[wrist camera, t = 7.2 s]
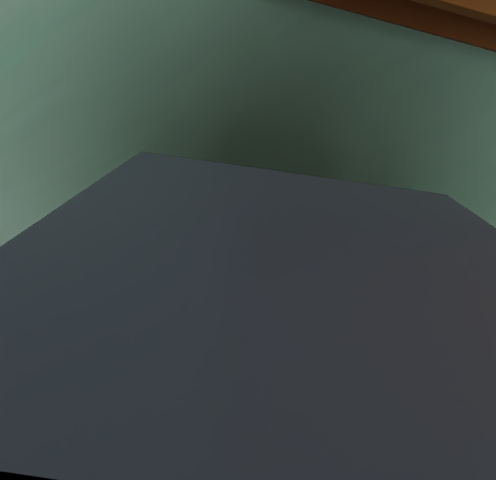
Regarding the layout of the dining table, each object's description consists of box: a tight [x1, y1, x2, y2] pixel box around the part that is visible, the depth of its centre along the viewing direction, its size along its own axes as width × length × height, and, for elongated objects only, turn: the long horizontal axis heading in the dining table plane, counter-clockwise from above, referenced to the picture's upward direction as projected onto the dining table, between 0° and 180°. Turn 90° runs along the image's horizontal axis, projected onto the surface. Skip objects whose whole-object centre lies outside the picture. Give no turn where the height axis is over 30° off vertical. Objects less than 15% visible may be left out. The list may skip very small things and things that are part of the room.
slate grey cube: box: [0, 152, 496, 480], centre depth 7 cm, size 8×8×9 cm
